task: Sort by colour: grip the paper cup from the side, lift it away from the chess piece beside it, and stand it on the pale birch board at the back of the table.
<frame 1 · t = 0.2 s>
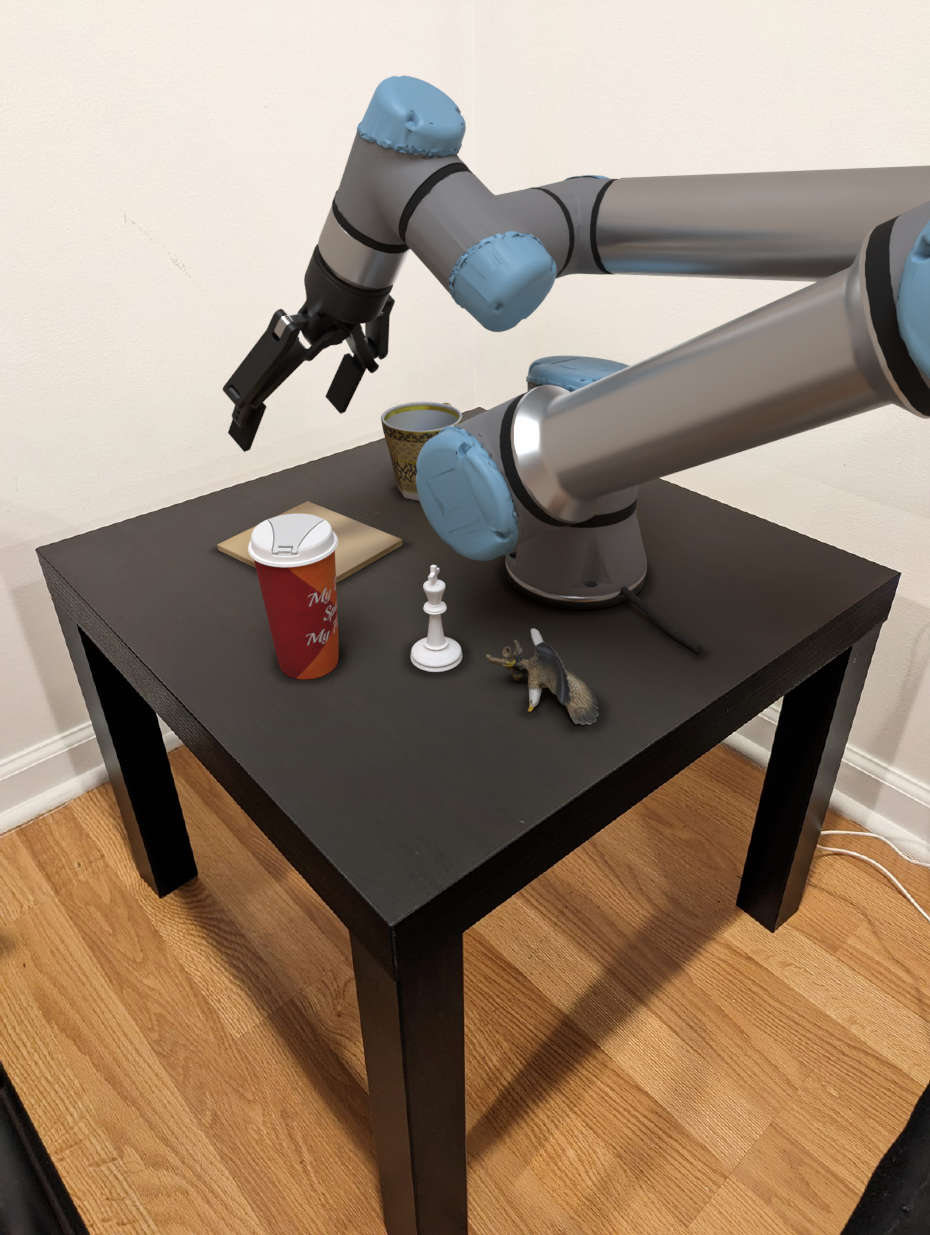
hand: (289, 422, 93), 15 cm above the table, tool tilted 35°, fingers open, 13 cm apart
birch board: (310, 547, 100), on the table
chess piece: (436, 658, 83), on the table
paper cup: (309, 662, 82), on the table
ceramic cup: (429, 486, 114), on the table
eagle figurine: (546, 703, 77), on the table
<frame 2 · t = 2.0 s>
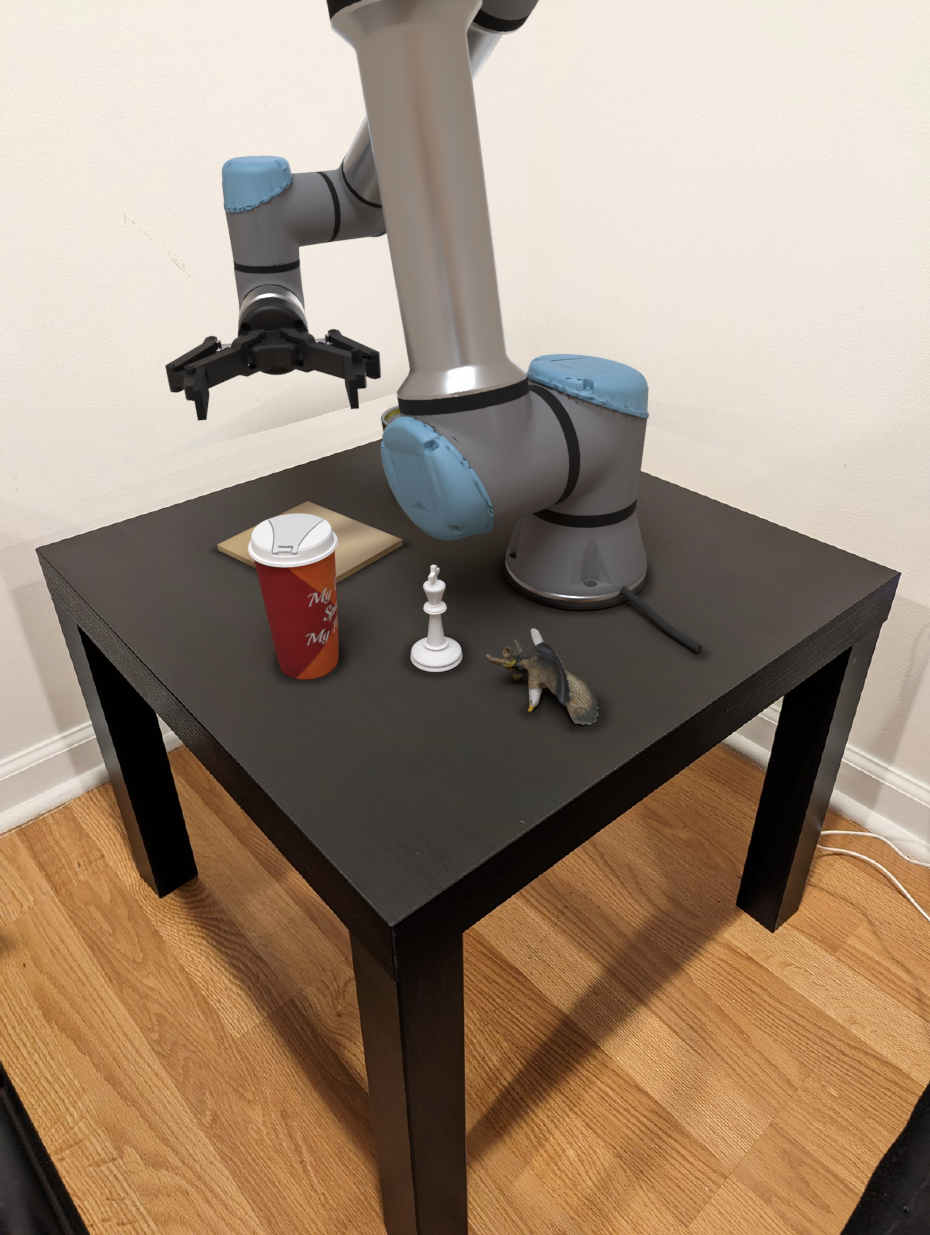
hand: (277, 400, 78), 22 cm above the table, tool horizontal, fingers open, 13 cm apart
nothing on the table moved.
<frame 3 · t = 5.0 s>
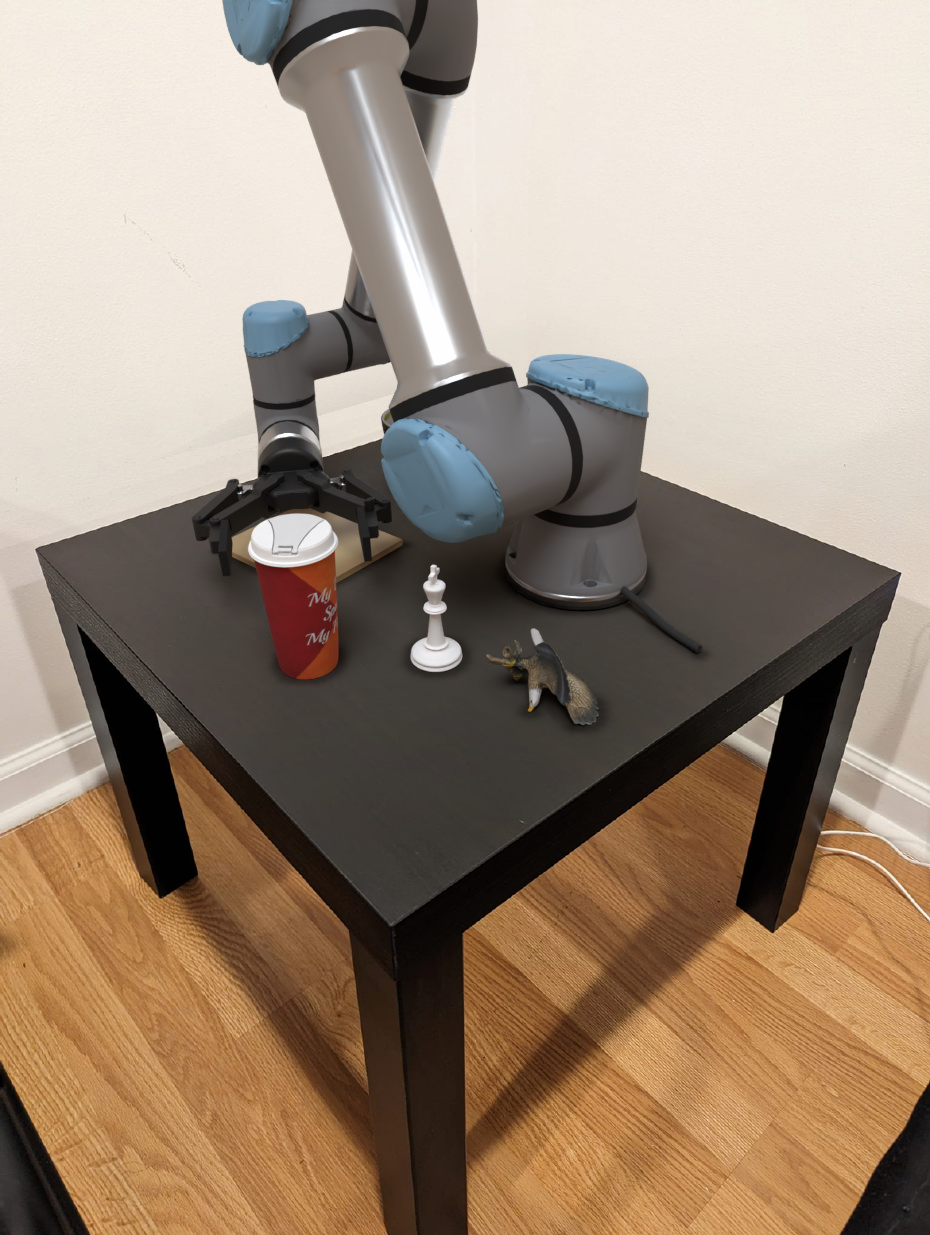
hand: (296, 556, 84), 7 cm above the table, tool horizontal, fingers open, 13 cm apart
nothing on the table moved.
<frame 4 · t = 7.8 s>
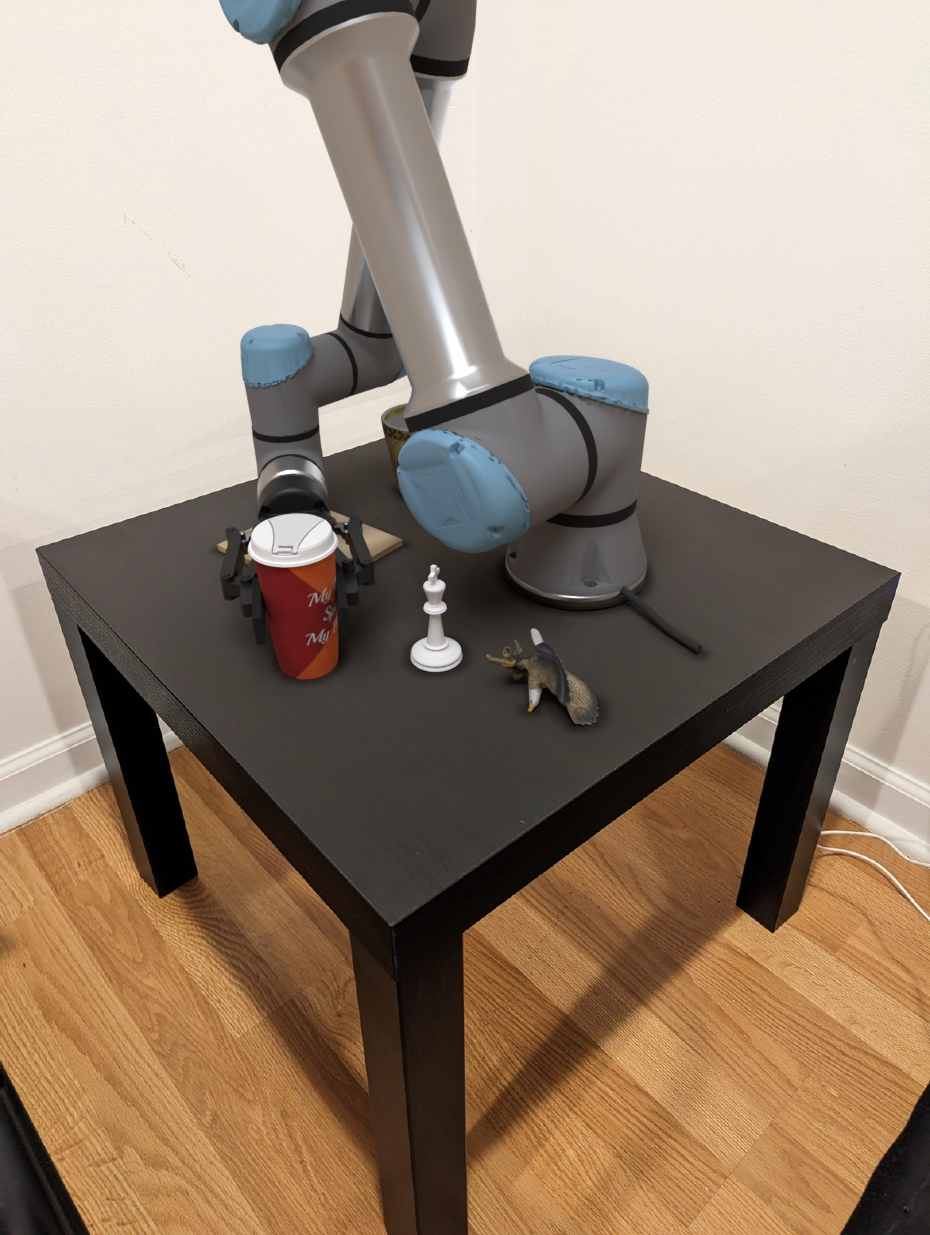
hand: (302, 625, 74), 7 cm above the table, tool horizontal, fingers closed on paper cup, 7 cm apart
paper cup: (309, 662, 82), on the table, touching gripper
everything else where it was.
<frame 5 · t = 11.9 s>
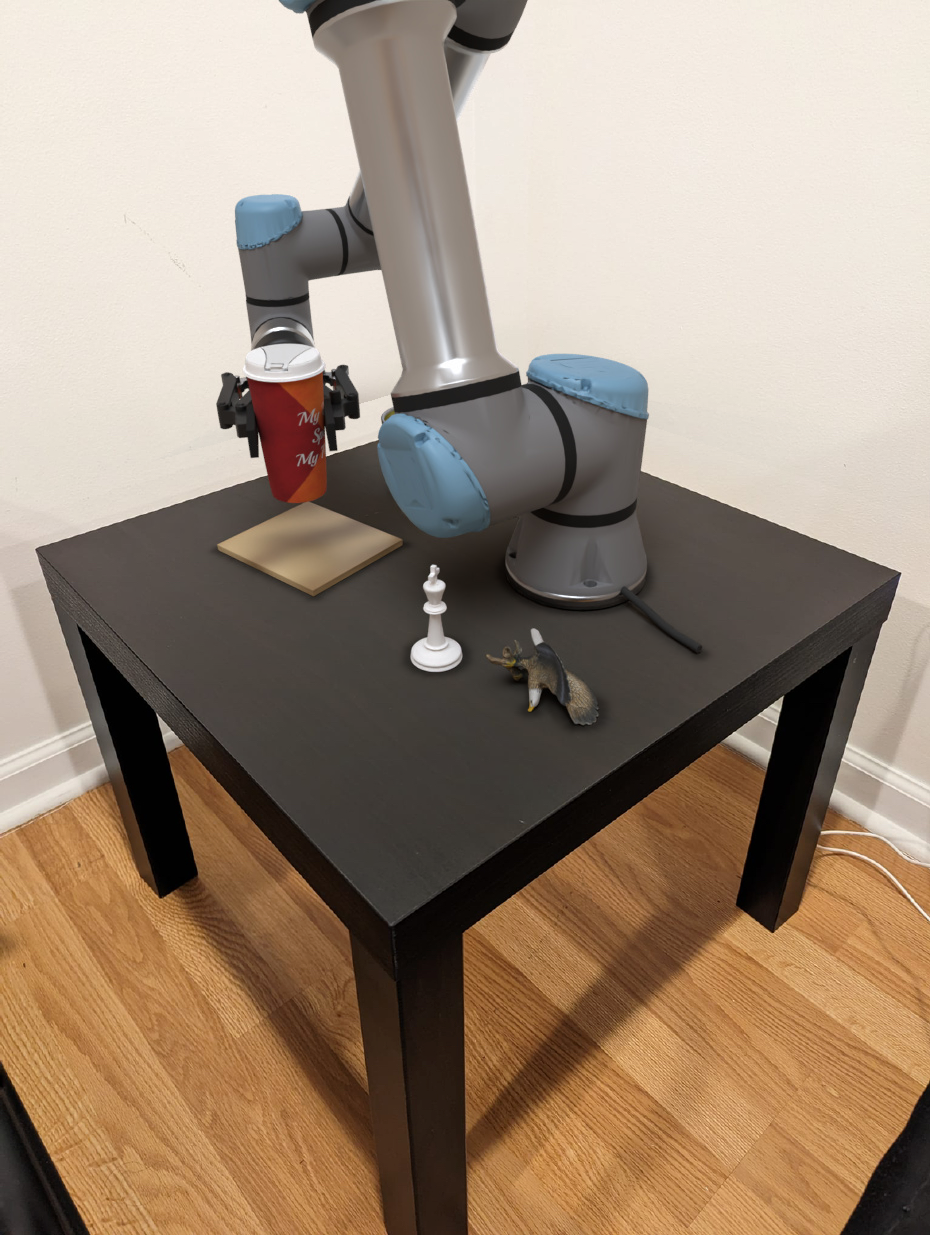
hand: (292, 440, 80), 18 cm above the table, tool horizontal, fingers closed on paper cup, 7 cm apart
paper cup: (299, 492, 89), point 10 cm above the table, touching gripper
everything else where it was.
when the fingers open (8 cm above the table, at t = 15.8 s): paper cup stays where it is, resting on birch board.
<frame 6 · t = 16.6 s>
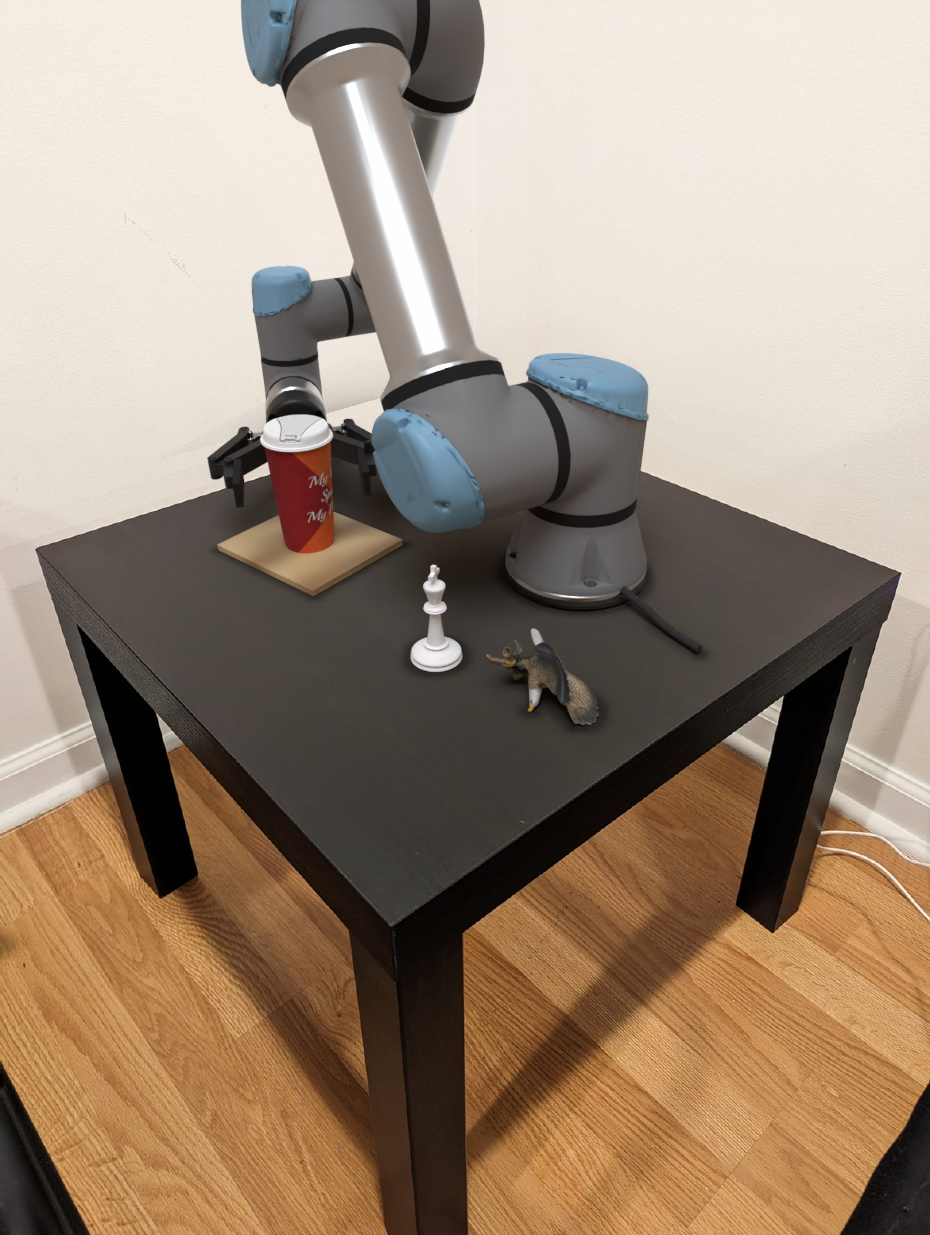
hand: (303, 489, 92), 9 cm above the table, tool horizontal, fingers open, 13 cm apart
paper cup: (310, 542, 100), point 1 cm above the table, touching birch board
everything else where it was.
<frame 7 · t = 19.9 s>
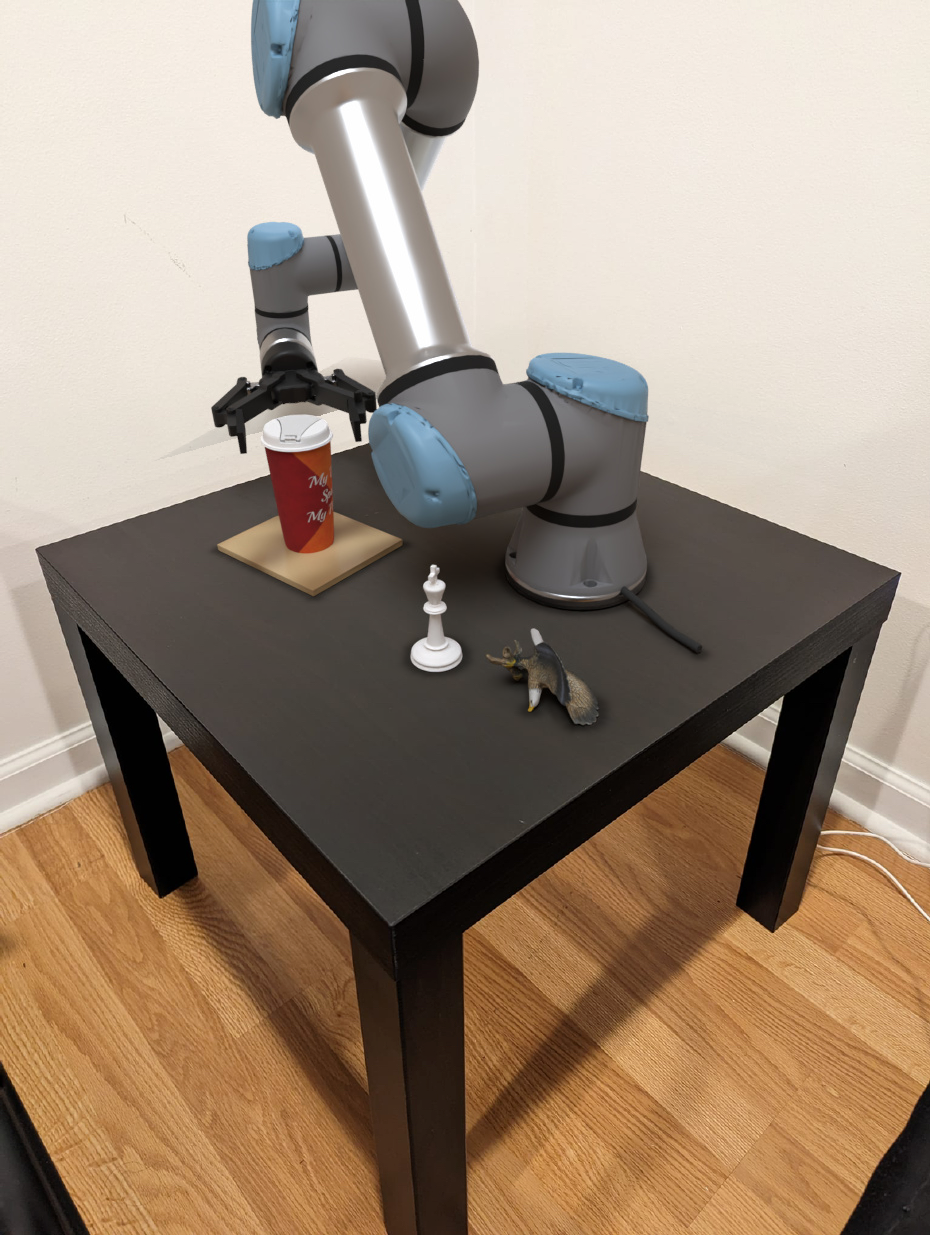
hand: (300, 437, 103), 10 cm above the table, tool horizontal, fingers open, 13 cm apart
nothing on the table moved.
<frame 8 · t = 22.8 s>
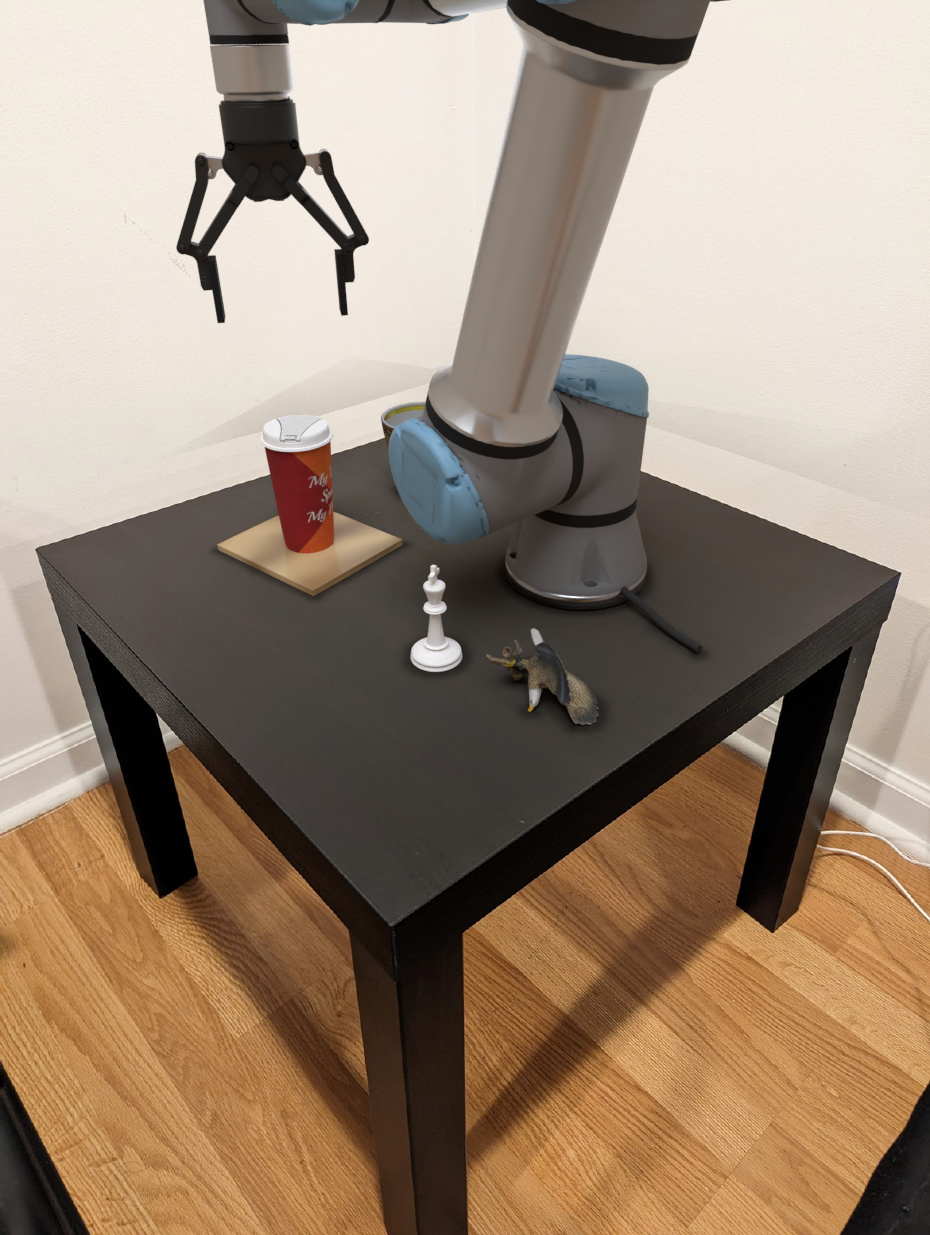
hand: (283, 316, 98), 23 cm above the table, tool pointing down, fingers open, 13 cm apart
nothing on the table moved.
at the end: paper cup inside the target area on the birch board (0.1 cm from its centre), point 0.6 cm above the birch board's base; paper cup tilted 0°; chess piece moved 0.2 cm from its start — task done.
